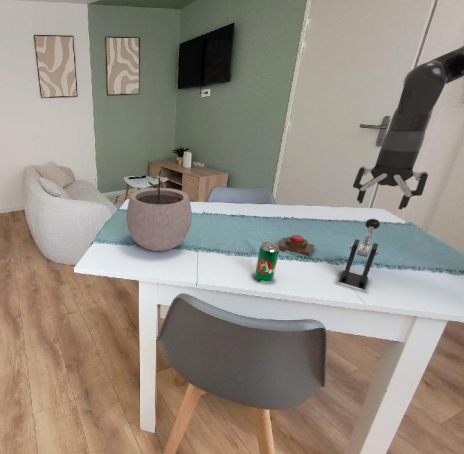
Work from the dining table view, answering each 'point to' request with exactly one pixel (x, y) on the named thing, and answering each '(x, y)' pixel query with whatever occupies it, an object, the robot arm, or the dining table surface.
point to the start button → (297, 238)
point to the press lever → (368, 237)
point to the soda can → (266, 261)
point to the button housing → (295, 246)
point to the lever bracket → (358, 279)
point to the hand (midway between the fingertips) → (379, 205)
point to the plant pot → (159, 217)
